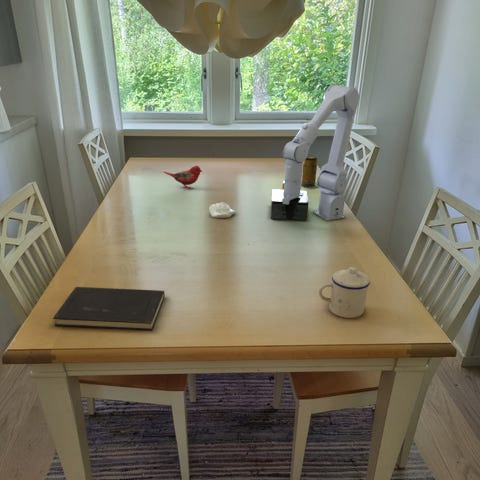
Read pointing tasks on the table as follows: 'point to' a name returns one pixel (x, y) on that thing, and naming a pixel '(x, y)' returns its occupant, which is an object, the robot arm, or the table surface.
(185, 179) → the decorative bird figurine
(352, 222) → the table surface
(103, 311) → the hardcover book
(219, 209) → the white lumpy piece
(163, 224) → the table surface
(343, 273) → the teacup with lid
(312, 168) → the condiment
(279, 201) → the cabinet
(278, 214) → the drawer
